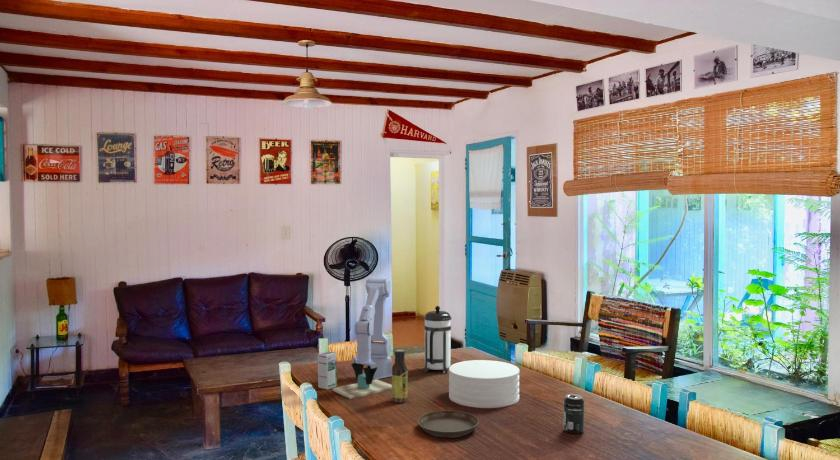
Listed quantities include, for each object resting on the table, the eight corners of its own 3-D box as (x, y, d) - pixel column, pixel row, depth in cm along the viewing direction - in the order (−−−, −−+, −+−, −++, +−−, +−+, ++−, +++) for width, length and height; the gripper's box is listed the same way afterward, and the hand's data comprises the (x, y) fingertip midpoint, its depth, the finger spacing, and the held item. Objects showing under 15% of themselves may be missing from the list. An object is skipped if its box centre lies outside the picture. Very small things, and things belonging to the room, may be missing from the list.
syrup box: (327, 389, 259) (327, 355, 258) (317, 387, 262) (317, 353, 262) (337, 386, 263) (337, 352, 263) (327, 384, 267) (327, 350, 266)
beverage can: (568, 426, 216) (569, 391, 215) (587, 430, 211) (587, 395, 211) (559, 431, 210) (560, 396, 210) (578, 436, 206) (579, 400, 206)
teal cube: (365, 385, 262) (365, 373, 262) (371, 387, 258) (371, 375, 258) (355, 387, 259) (355, 375, 259) (362, 389, 255) (362, 377, 255)
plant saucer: (428, 443, 200) (428, 433, 200) (411, 422, 220) (411, 413, 220) (487, 437, 206) (487, 427, 206) (465, 416, 226) (465, 407, 226)
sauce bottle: (405, 403, 240) (405, 352, 239) (389, 402, 241) (389, 352, 241) (409, 398, 246) (409, 349, 246) (394, 397, 248) (393, 348, 247)
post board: (376, 381, 271) (376, 370, 271) (395, 388, 260) (395, 376, 260) (332, 390, 257) (332, 378, 257) (350, 398, 246) (350, 386, 246)
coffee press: (414, 368, 293) (414, 304, 292) (444, 364, 299) (444, 302, 298) (430, 377, 277) (430, 310, 276) (461, 373, 284) (462, 307, 283)
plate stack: (437, 401, 243) (437, 372, 243) (465, 383, 268) (465, 357, 268) (505, 412, 230) (505, 382, 230) (528, 392, 255) (528, 364, 255)
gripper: (346, 347, 261) (346, 379, 262) (365, 354, 250) (365, 387, 250) (360, 345, 266) (360, 377, 266) (379, 351, 254) (380, 384, 255)
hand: (364, 382), depth 258 cm, fingers open, 7 cm apart
